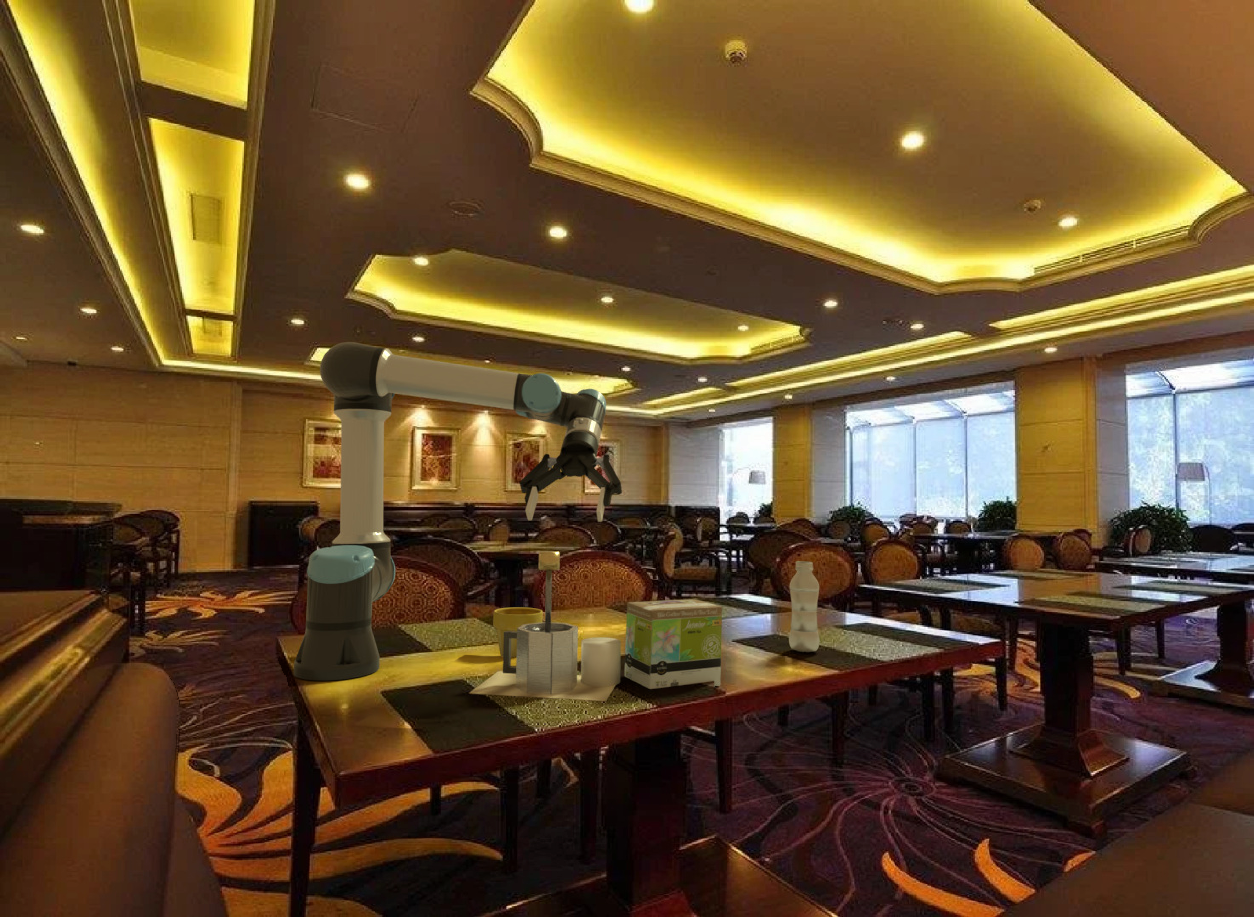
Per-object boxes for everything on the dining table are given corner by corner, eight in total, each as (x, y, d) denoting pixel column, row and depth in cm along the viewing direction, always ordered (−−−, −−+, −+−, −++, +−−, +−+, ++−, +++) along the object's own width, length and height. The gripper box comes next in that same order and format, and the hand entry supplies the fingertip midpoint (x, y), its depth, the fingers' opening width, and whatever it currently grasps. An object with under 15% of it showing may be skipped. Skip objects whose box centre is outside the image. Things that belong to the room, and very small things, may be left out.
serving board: (468, 700, 113) (468, 693, 113) (498, 677, 128) (498, 670, 128) (605, 708, 110) (605, 700, 110) (620, 683, 124) (620, 677, 124)
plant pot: (546, 652, 149) (547, 607, 149) (535, 664, 138) (536, 615, 139) (500, 651, 150) (501, 606, 150) (485, 662, 140) (487, 613, 140)
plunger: (522, 641, 115) (524, 552, 116) (533, 633, 122) (535, 550, 123) (562, 643, 114) (564, 553, 115) (571, 635, 121) (573, 551, 122)
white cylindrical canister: (576, 685, 118) (577, 644, 119) (585, 675, 125) (585, 636, 126) (616, 687, 117) (617, 646, 118) (622, 677, 124) (623, 638, 125)
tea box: (650, 697, 117) (651, 609, 117) (623, 682, 125) (624, 601, 126) (722, 687, 123) (723, 604, 124) (692, 674, 132) (693, 597, 133)
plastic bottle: (795, 647, 158) (795, 560, 159) (824, 651, 154) (823, 562, 155) (784, 652, 153) (784, 562, 154) (813, 656, 149) (813, 564, 150)
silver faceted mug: (494, 691, 114) (495, 631, 115) (512, 676, 124) (513, 620, 124) (567, 695, 112) (569, 634, 113) (580, 680, 122) (581, 623, 122)
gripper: (520, 429, 144) (495, 501, 128) (638, 429, 140) (627, 502, 124) (527, 456, 149) (503, 528, 133) (640, 456, 145) (630, 530, 129)
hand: (563, 516), depth 129 cm, fingers open, 13 cm apart
